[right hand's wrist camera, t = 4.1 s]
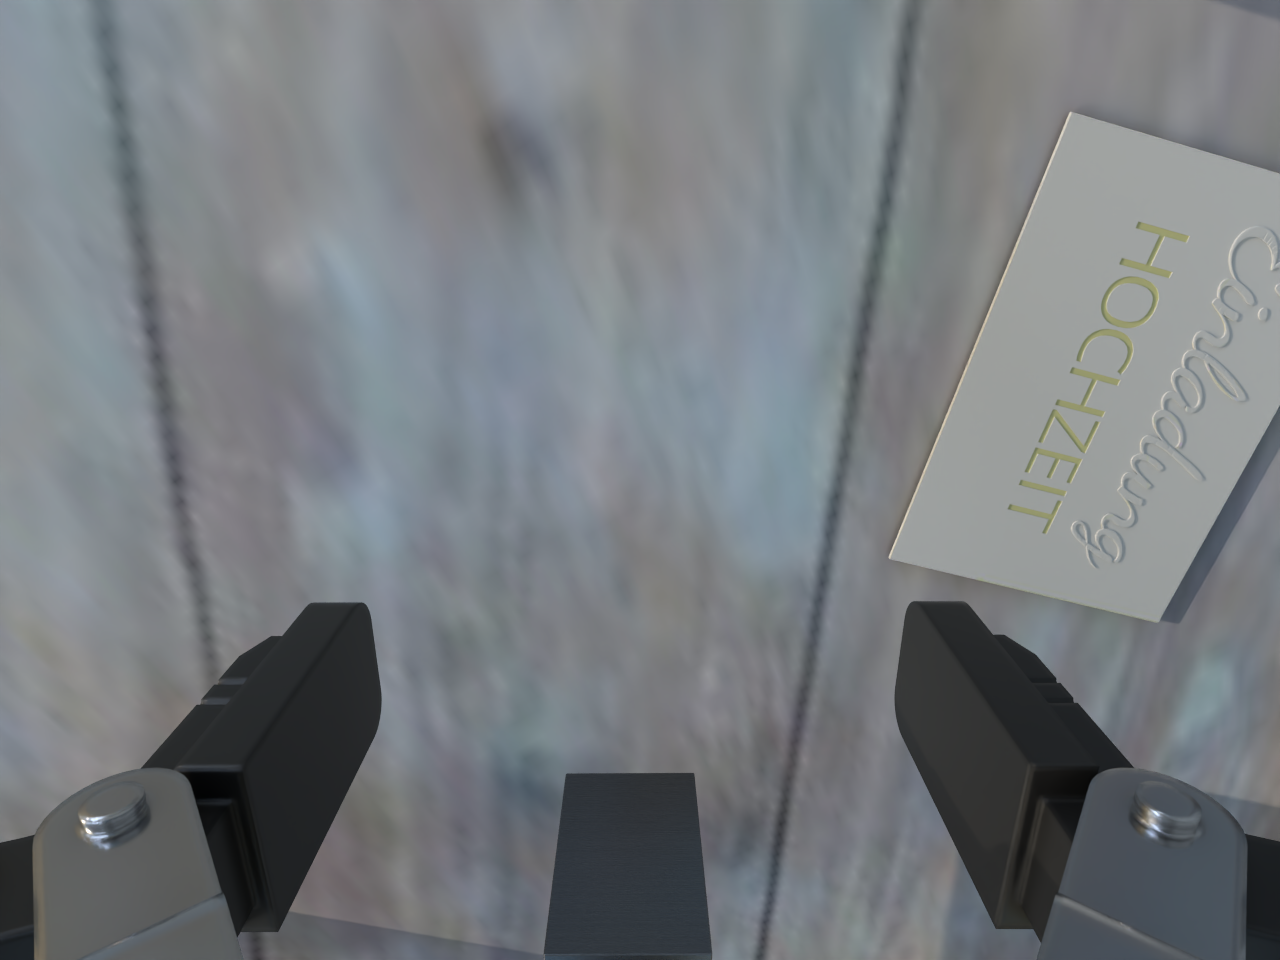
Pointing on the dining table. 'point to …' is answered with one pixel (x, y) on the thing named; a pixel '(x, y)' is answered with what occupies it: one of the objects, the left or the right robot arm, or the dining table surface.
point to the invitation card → (1110, 377)
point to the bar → (628, 870)
